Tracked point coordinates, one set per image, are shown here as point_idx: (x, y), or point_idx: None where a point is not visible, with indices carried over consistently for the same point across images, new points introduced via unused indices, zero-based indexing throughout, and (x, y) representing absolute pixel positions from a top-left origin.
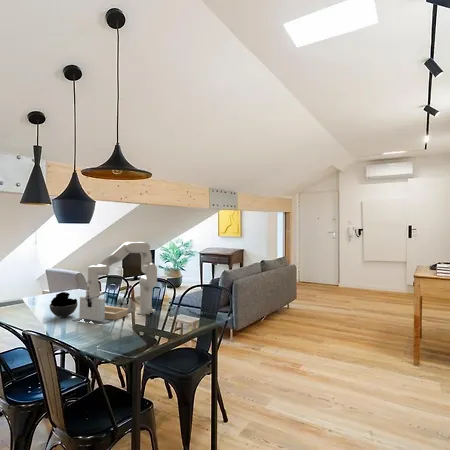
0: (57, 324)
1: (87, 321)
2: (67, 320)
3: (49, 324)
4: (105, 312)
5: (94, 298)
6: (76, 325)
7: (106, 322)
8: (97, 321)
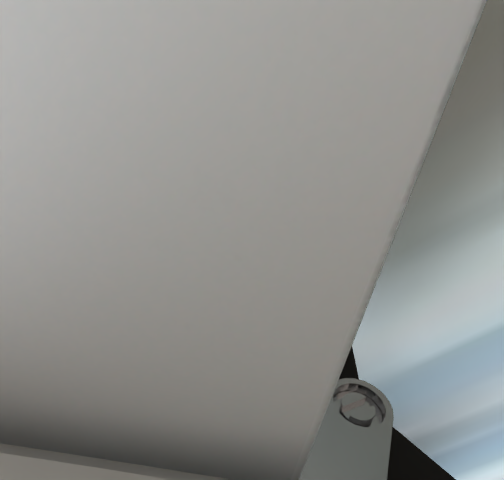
0: (446, 417)
1: None
2: None
3: (454, 465)
4: None
5: (274, 389)
6: (466, 242)
7: None
8: None
